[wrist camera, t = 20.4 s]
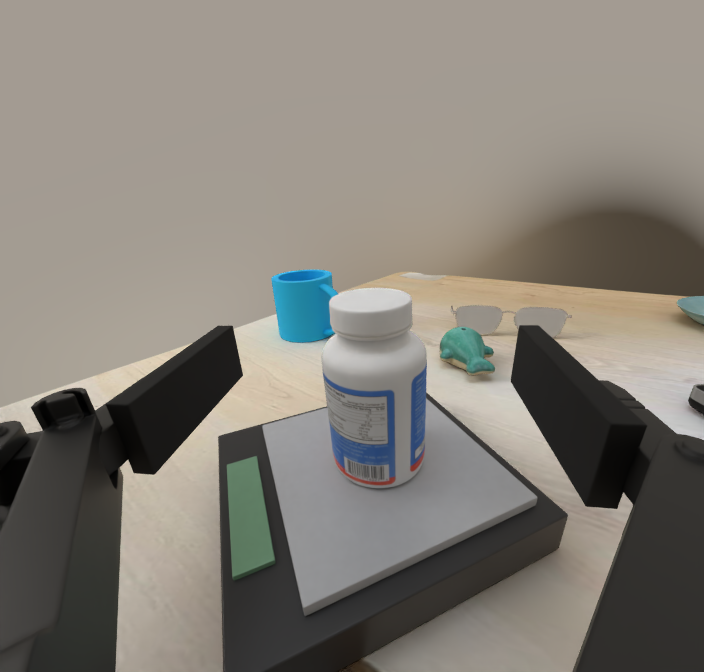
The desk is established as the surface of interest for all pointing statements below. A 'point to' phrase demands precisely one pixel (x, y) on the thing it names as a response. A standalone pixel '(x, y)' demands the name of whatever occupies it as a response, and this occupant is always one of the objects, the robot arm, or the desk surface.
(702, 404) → the external hard drive
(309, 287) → the mug
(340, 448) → the pill bottle
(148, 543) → the desk surface
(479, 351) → the whale figurine
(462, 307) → the eyeglasses
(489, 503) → the scale
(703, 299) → the saucer
